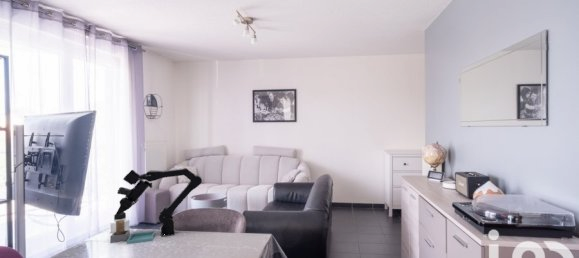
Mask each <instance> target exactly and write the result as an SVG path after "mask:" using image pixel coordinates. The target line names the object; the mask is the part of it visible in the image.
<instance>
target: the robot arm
mask: <svg viewBox="0 0 579 258" xmlns="http://www.w3.org/2000/svg"><path fill="white" fill-rule="evenodd" d="M180 176H184V177H186V178H187V179H188V180H189V182H188V184H187V185H186V187H184V188H183V190H182V191H181V192H180V193H179V194H178V195H177V196H176V198H174V200H173V201H172V202H170V204H169V205H167V206H166V205H164V206H163V208H162V209H161V210H160V211H159V215H158V220H159V222H161V226H160V230H161V232H160V234H161V237H164V236H163V235H164V234H165V235H167V236H172V235H171V234H174V235H175V233H174V232H176V230H175V221H174V220H175V218H174V216H173V214H174V212H175V210H176V209H177V208H178V207H179V205H180V204H182V202H183V201H184V200H185V199H186V197H188V195H189V194H190V193H191V192H192V191H193V190H195V189H196V188H197V187H199V186H200V185H201V184H202V182H203V181H202V178H201V176H200V175H199V174H195V173H193V172H192V171H190V170H189V169H188V168H187V167H183V168H176V169H170V170H152V169H151V170H148V171H147V172H146V173H142V174H139V173H138V172H136V171H135V170H134V169H131V170H130V171H129V172H128V173H127V174H126V175H125V176H124V177H123V178H122V180H123V181H124V182H126V183H128V184H129V185H130V186H134V185H135V186H134V187H133V188H131V189H130V188H126V187H123V186H121V187H119V188H118V190H117V192H116V193H117V194H118V195H123V196H125V197H122V198H121V199H120V200H119V207H118V209H117V211H116V212H115V214H116V215H119V214H121V213H123V212H125V211H128V210H129V209H131V208H132V207H133V206H134V205H135V204H137V202H139V198H140V197H142V195H143V194H144V193H145V192H146V190H147V189H148V188H150V189H152V188H153V186H154V185H153V182H155V181H158V180H160V179H166V178H172V177H180Z"/></svg>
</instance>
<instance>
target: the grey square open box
mask: <svg viewBox="0 0 579 258" xmlns="http://www.w3.org/2000/svg"><path fill="white" fill-rule="evenodd" d="M130 236H131V231H130V229H129V230H126V231H125V234H122V235H116V232H114V233H111V235H110V244H114V243H115V244H116V243H121V242H127V240H128V239H129V237H130Z"/></svg>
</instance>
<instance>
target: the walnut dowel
mask: <svg viewBox="0 0 579 258" xmlns="http://www.w3.org/2000/svg"><path fill="white" fill-rule="evenodd" d="M122 234H125V226H124V220H119V221H116V235H122Z"/></svg>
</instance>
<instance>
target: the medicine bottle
mask: <svg viewBox="0 0 579 258" xmlns="http://www.w3.org/2000/svg"><path fill="white" fill-rule="evenodd" d="M126 215H127V213H126V212H125V211H124V212H123V213H121V214H119V215H116V213H114V215H113V221H111V222H110V234H113V233H114V232H116V221H119V220H124V226H125V231H126V230H130V219H128V218H127V216H126Z"/></svg>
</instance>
